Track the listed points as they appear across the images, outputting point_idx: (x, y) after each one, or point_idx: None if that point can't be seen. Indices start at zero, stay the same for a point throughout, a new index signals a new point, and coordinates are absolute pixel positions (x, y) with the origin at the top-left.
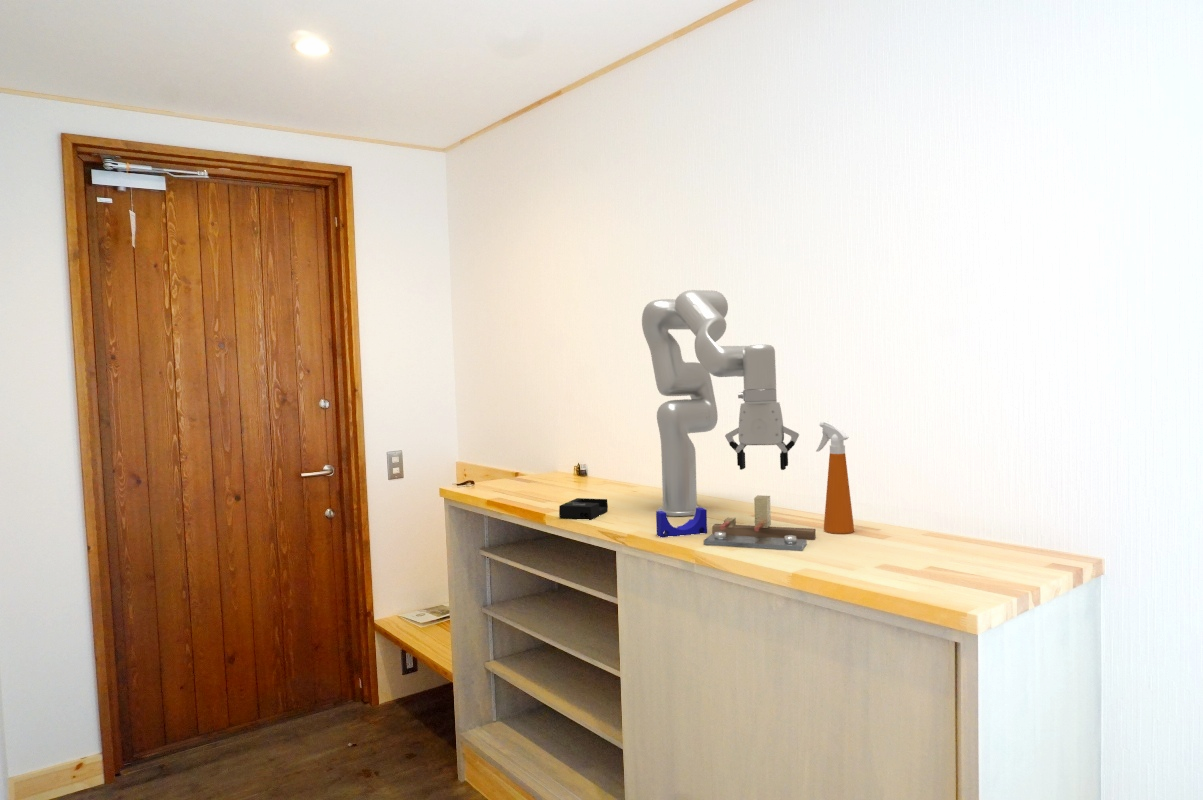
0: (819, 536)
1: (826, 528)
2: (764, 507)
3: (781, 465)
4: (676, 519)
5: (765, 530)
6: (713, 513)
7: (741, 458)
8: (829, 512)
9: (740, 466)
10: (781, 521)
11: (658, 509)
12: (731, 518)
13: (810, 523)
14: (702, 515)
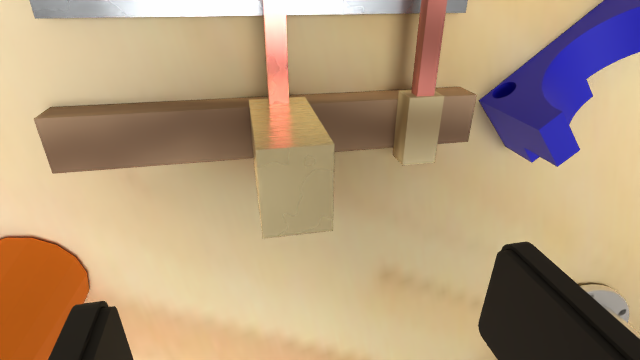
0: (59, 177)
1: (58, 257)
2: (268, 130)
3: (83, 335)
4: (574, 257)
5: None
6: (477, 353)
7: (591, 320)
8: (10, 302)
9: (536, 257)
10: (272, 336)
11: (628, 309)
12: (417, 146)
13: (175, 344)
14: (538, 108)
